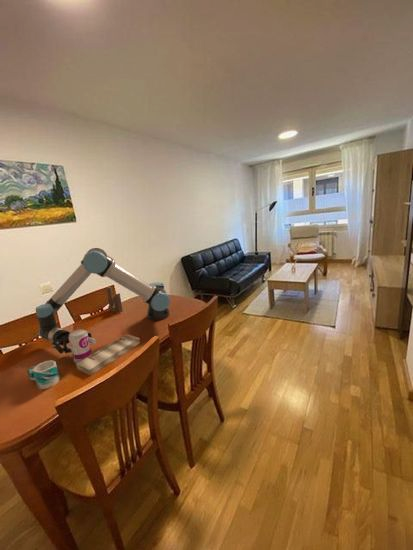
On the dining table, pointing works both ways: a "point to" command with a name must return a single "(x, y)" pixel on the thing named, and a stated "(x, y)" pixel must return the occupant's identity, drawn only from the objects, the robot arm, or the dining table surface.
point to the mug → (44, 374)
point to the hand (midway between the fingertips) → (85, 346)
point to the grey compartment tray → (107, 354)
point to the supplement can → (80, 344)
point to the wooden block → (114, 301)
